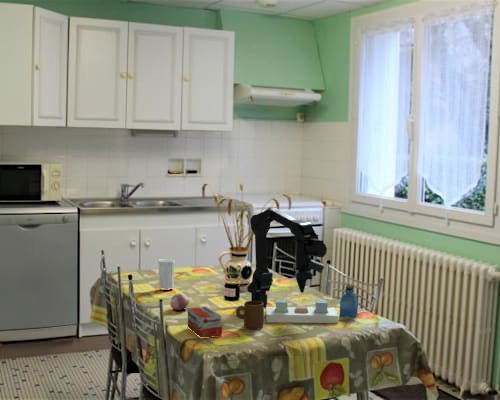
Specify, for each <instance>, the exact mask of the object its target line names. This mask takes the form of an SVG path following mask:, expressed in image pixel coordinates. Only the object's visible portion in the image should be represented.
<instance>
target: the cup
mask: <svg viewBox="0 0 500 400" xmlns="http://www.w3.org/2000/svg"><path fill="white" fill-rule="evenodd" d="M175 263H176V260H175V258H160V259H158V261H157V264H158V277H159V288H160V287H161V288H165V289H168V288H173V289H174V282H175V281H174V280H175Z"/></svg>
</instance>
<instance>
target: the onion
mask: <svg viewBox="0 0 500 400" xmlns="http://www.w3.org/2000/svg"><path fill="white" fill-rule="evenodd" d="M169 304H170V307H171V309H172V308H173V309H175V310H180V311H184V310H183V309H184V308H187V307H188V305H189V304H190V300H189V298H188V297H187V296H186V295H185V294H182V293H176V294H174V295H173V296H172V297H171V298H170V303H169ZM173 309H172V310H173ZM175 310H174V311H175Z"/></svg>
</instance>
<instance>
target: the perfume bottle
mask: <svg viewBox="0 0 500 400" xmlns="http://www.w3.org/2000/svg"><path fill="white" fill-rule="evenodd" d="M354 291H355V289H354V286H353V285H346V286H345V289H344V292H345V293H344V294H343V295H342V297H341V298H340V301H339V317H341V318H351V317H352V318H353V319H355V318H356V317H357V316H358V313H359V312H358V310H359V309H358V306H359V299H358V297H357V295H356V294H355V293H354Z"/></svg>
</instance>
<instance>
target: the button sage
mask: <svg viewBox="0 0 500 400" xmlns="http://www.w3.org/2000/svg"><path fill="white" fill-rule="evenodd" d="M275 307H276V312H287V307H288V299H275Z"/></svg>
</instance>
